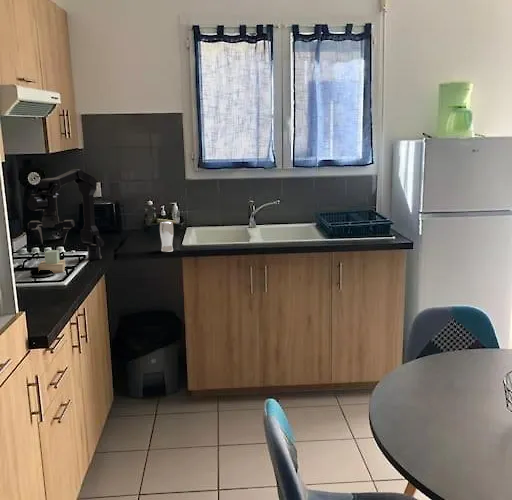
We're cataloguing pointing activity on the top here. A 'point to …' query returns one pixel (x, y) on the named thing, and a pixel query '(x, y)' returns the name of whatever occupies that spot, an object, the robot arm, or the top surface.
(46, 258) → the sage cube
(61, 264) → the oak block
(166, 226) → the beer glass
